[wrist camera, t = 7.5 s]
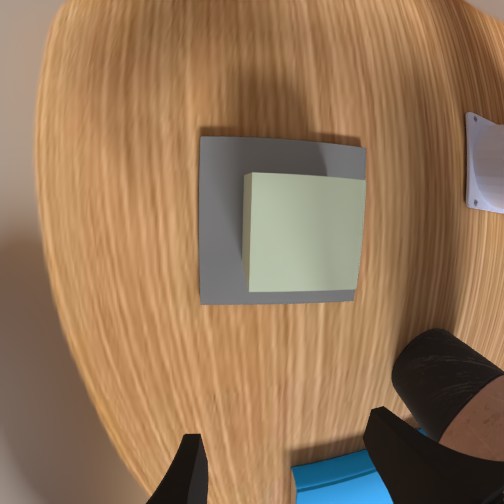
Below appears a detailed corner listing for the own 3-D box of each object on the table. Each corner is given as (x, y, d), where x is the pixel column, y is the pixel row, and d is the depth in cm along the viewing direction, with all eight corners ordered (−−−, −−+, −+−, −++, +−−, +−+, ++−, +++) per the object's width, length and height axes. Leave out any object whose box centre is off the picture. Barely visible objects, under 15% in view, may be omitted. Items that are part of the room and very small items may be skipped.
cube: (328, 179, 17) (366, 180, 12) (323, 261, 18) (356, 289, 13) (244, 175, 16) (252, 172, 11) (241, 261, 17) (248, 291, 13)
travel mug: (403, 328, 21) (572, 499, 1) (463, 321, 21) (608, 437, 2) (377, 400, 22) (482, 568, 3) (437, 387, 23) (543, 511, 4)
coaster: (361, 148, 17) (365, 148, 16) (350, 297, 19) (353, 300, 19) (201, 138, 16) (200, 136, 16) (201, 300, 18) (200, 304, 18)
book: (446, 482, 26) (294, 540, 24) (435, 466, 30) (288, 517, 28) (489, 412, 22) (296, 494, 20) (471, 395, 26) (287, 462, 24)
